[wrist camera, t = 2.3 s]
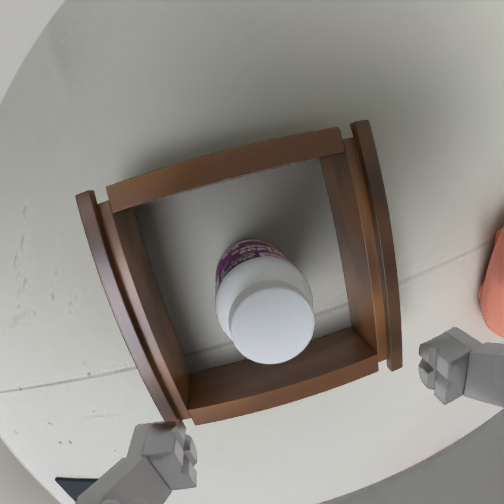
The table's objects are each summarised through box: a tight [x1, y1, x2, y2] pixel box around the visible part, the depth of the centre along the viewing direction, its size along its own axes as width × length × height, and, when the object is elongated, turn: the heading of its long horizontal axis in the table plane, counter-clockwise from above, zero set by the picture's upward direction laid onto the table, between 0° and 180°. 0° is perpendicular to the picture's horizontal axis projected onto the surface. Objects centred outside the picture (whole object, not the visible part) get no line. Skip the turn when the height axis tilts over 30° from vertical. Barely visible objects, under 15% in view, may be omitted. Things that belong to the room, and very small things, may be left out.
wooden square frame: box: [75, 120, 402, 425], centre depth 21 cm, size 17×18×6 cm
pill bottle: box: [215, 239, 315, 364], centre depth 19 cm, size 5×5×10 cm
